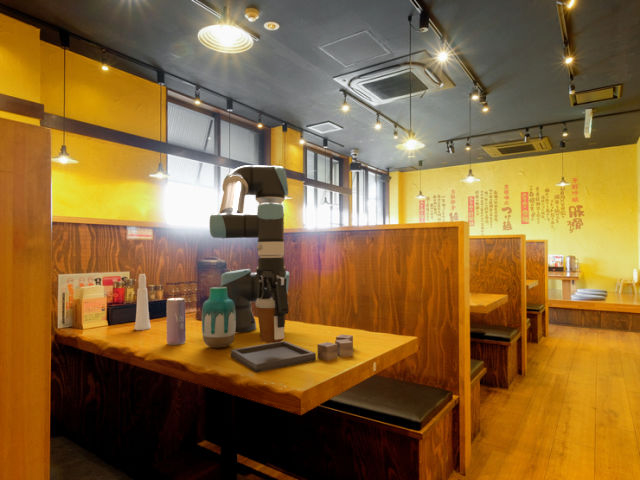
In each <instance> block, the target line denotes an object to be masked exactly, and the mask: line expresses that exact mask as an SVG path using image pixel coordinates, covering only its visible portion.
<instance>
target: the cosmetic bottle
mask: <svg viewBox="0 0 640 480" xmlns="http://www.w3.org/2000/svg"><path fill="white" fill-rule="evenodd" d="M136 292H137V293H136V310H135V311H136V313H135V323H134V330H136V331H144V330H150V329H151V328H152V327H151V320H150V312H149V296H148V288H147V277H146V274H145V273H140V274H138V288H137V290H136Z"/></svg>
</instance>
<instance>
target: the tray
mask: <svg viewBox="0 0 640 480" xmlns="http://www.w3.org/2000/svg"><path fill="white" fill-rule="evenodd" d="M316 353H317V352H315V351H314V352H313V351H312V350H309V349H306V348H303V347H301V346H299V345H295V344H293V343H292V342H289V341H286V340H283V341H281V342H276V343H264V344H258V345H257V344H256V345H253V346H245V347H239V348H235V349H233V348H232V349H231V350H230V357H231V358H232V359H234V360H235V361H237V362H239V363H240V364H243V366H246V367H247V368H249V369H250V370H252V371H254V372H255V373H261V372H265V371H271V370H276V369H280V368H284V367H289V366H294V365H295V366H296V365H300V364H304V363H309V362H310V363H311V362H315V361H316V359H317V357H316V356H317V355H316Z"/></svg>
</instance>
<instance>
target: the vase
mask: <svg viewBox="0 0 640 480" xmlns="http://www.w3.org/2000/svg"><path fill="white" fill-rule="evenodd" d="M201 309H202V310H201V332H202V333H201V334H202V340H203V342H204V345H206V346H207V347H209V348H214V349H220V348H225V347H228V346H230V345H231V344H232V343H233V341H235V337H236V333H235V329H236V314H235V305H234V302H233V301H232V300H231V299H229V298H228V294H227V287H221V286H216V287H215V286H214V287H210V288H209V297H208V298H207V300H205V301H204V302H203V303H202V308H201Z"/></svg>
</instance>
